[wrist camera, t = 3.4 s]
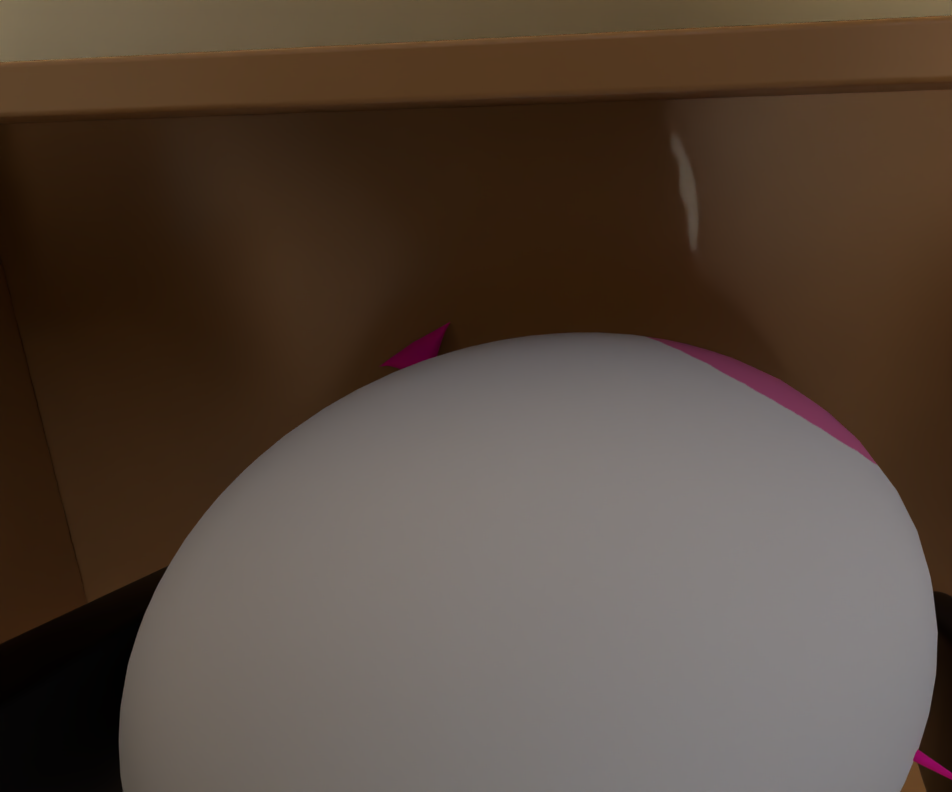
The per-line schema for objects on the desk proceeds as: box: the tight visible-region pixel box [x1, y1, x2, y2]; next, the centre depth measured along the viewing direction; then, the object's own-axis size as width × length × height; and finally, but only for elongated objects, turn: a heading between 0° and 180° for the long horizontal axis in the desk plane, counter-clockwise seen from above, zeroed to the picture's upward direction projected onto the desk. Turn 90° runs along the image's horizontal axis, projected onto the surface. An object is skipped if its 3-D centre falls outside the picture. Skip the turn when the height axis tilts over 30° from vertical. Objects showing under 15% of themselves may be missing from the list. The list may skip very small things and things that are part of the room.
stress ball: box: [119, 322, 952, 792], centre depth 8 cm, size 8×8×7 cm
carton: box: [0, 15, 952, 792], centre depth 9 cm, size 15×14×5 cm
